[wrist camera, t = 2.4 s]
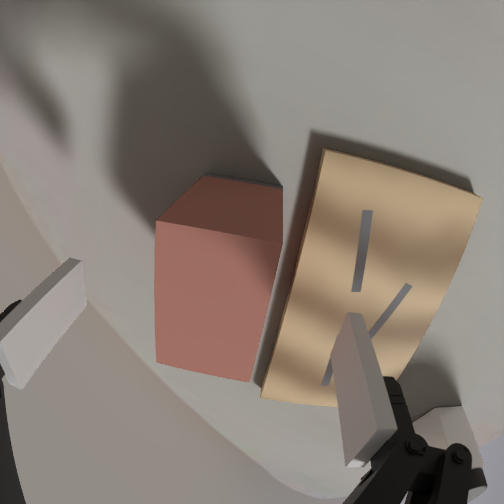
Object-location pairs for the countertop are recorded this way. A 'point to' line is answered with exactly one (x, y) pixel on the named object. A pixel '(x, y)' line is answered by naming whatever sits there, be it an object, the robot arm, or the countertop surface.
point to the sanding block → (216, 274)
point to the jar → (453, 439)
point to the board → (366, 270)
